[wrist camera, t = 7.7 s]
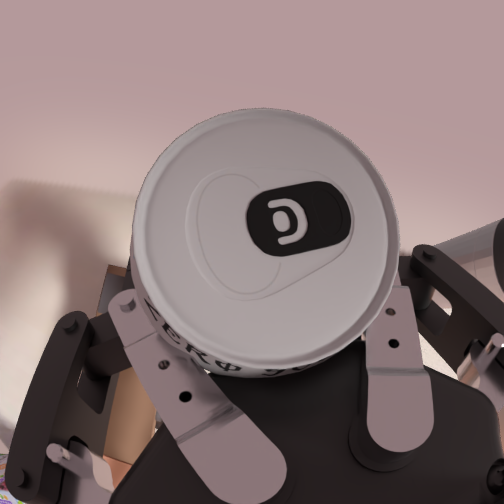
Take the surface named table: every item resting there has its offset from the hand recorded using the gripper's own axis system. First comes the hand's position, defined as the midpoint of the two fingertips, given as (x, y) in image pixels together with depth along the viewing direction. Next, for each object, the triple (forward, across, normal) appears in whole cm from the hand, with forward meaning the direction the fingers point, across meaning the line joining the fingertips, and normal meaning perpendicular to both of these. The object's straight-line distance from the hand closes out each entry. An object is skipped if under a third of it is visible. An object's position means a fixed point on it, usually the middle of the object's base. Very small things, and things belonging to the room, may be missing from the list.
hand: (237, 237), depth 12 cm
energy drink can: (+4, 0, +7) cm, 8 cm away
